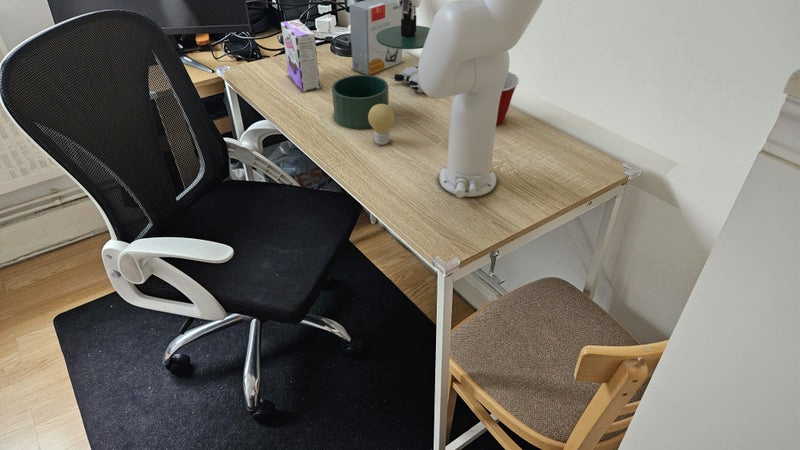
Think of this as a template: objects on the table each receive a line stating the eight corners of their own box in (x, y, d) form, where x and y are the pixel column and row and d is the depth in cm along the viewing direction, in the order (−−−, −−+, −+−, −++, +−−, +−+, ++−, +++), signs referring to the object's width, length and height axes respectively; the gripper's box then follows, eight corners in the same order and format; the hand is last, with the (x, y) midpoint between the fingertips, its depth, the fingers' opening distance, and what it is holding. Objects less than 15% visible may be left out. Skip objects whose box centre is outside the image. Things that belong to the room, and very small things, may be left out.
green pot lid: (438, 53, 118) (439, 25, 114) (371, 50, 119) (370, 23, 116) (443, 30, 130) (444, 5, 126) (381, 28, 131) (381, 3, 128)
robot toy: (387, 86, 156) (420, 99, 146) (386, 71, 153) (420, 84, 144) (418, 75, 162) (451, 87, 153) (417, 61, 159) (451, 72, 150)
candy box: (287, 75, 161) (279, 21, 150) (305, 71, 163) (299, 18, 152) (302, 92, 151) (294, 36, 141) (321, 88, 153) (315, 32, 143)
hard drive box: (368, 76, 160) (365, 10, 147) (351, 70, 164) (347, 4, 151) (403, 62, 168) (402, -2, 156) (386, 56, 172) (384, -7, 160)
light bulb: (391, 150, 126) (391, 112, 120) (366, 147, 127) (364, 110, 121) (397, 137, 131) (396, 100, 125) (372, 134, 132) (371, 98, 126)
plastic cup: (463, 121, 137) (466, 78, 129) (488, 107, 143) (492, 66, 135) (496, 135, 131) (502, 91, 124) (521, 121, 137) (527, 77, 129)
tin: (383, 130, 133) (382, 100, 128) (328, 126, 135) (325, 96, 130) (392, 105, 144) (392, 76, 139) (341, 102, 146) (339, 73, 141)
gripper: (422, -43, 106) (421, 46, 117) (429, -59, 118) (427, 24, 130) (386, -44, 106) (388, 45, 118) (396, -59, 119) (397, 23, 130)
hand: (408, 33), depth 124 cm, fingers closed on green pot lid, 2 cm apart
